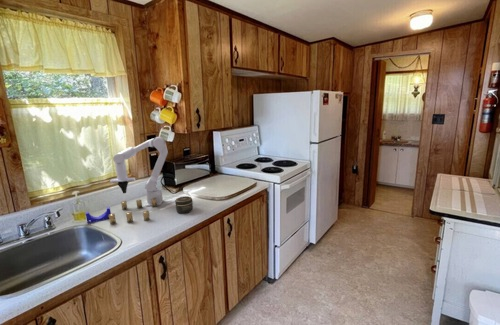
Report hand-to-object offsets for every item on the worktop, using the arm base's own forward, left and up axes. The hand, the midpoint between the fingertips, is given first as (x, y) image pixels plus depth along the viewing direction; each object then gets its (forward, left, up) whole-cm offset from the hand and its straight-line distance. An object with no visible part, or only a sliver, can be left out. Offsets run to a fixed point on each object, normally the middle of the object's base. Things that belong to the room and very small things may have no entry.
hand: (124, 192), depth 165 cm
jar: (-38, +16, -10) cm, 42 cm away
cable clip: (+10, +17, -10) cm, 22 cm away
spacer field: (-9, +14, -9) cm, 19 cm away
